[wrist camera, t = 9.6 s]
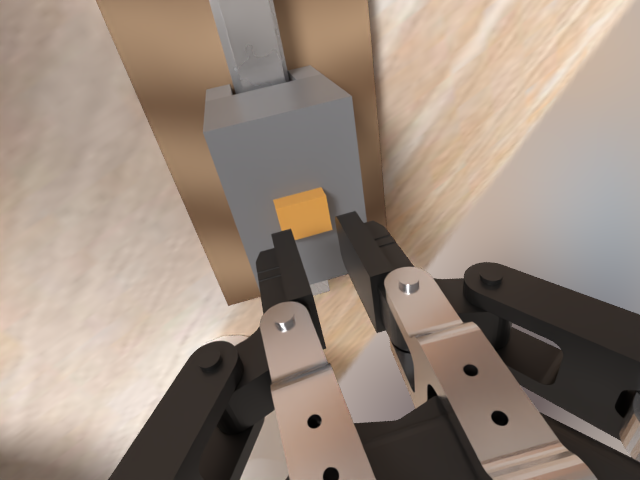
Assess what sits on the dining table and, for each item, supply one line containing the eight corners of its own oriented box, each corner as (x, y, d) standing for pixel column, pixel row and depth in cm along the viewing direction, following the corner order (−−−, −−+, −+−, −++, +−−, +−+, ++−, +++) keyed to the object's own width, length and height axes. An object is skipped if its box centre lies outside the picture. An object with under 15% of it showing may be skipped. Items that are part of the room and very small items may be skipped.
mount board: (-9, -263, 13) (-28, -283, 12) (330, -309, 14) (339, -332, 13) (227, 294, 28) (228, 305, 27) (383, 250, 29) (389, 259, 28)
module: (206, 89, 19) (202, 139, 12) (310, 65, 19) (359, 101, 13) (250, 222, 24) (264, 310, 17) (333, 200, 24) (378, 276, 17)
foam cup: (293, 318, 30) (336, 492, 20) (281, 392, 35) (310, 566, 24) (165, 324, 28) (136, 529, 17) (171, 403, 32) (150, 603, 22)
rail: (128, -279, 13) (115, -320, 11) (211, -291, 13) (211, -332, 11) (290, 282, 27) (295, 301, 25) (328, 271, 27) (335, 289, 25)
